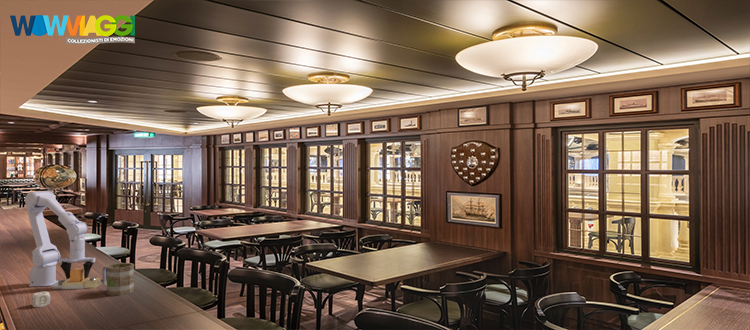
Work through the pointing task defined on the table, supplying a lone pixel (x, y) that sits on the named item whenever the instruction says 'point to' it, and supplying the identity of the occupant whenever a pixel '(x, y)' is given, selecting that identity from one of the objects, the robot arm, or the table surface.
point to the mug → (119, 279)
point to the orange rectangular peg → (77, 275)
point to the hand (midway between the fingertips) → (77, 278)
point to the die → (40, 299)
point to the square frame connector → (78, 284)
